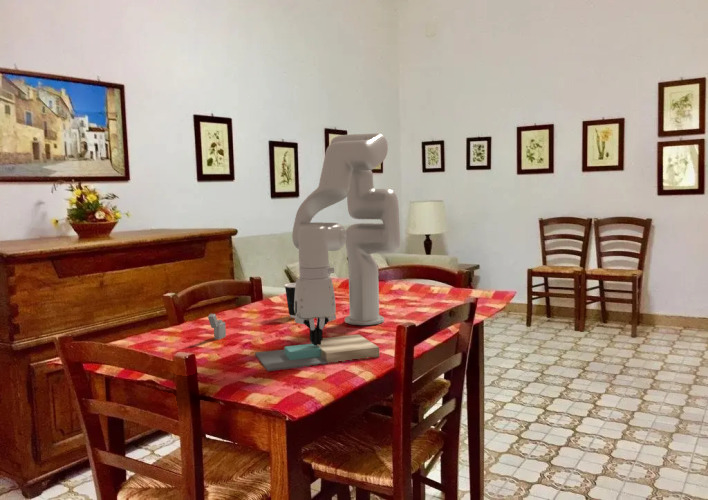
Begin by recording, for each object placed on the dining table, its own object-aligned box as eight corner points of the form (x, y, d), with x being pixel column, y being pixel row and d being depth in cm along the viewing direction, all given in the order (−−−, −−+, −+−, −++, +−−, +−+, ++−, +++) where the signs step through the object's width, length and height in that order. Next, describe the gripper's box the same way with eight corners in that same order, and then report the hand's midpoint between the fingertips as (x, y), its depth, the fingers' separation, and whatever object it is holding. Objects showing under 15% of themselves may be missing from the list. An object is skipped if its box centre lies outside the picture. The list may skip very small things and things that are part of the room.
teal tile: (284, 354, 159) (284, 346, 159) (314, 350, 162) (314, 343, 162) (290, 360, 154) (289, 352, 154) (320, 356, 156) (320, 348, 156)
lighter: (220, 335, 183) (219, 309, 182) (226, 336, 183) (224, 309, 182) (209, 341, 176) (207, 314, 175) (214, 342, 176) (213, 314, 175)
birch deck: (310, 348, 166) (310, 339, 166) (359, 343, 171) (359, 334, 170) (327, 363, 152) (326, 353, 152) (379, 356, 157) (379, 347, 156)
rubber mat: (255, 354, 162) (255, 352, 161) (310, 348, 167) (310, 346, 166) (267, 371, 147) (267, 369, 146) (327, 363, 152) (327, 361, 151)
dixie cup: (313, 315, 209) (312, 283, 208) (300, 320, 202) (299, 287, 201) (294, 313, 213) (292, 282, 212) (280, 318, 206) (279, 285, 205)
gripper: (337, 269, 163) (339, 337, 165) (282, 273, 158) (284, 343, 160) (346, 273, 156) (348, 344, 158) (289, 277, 151) (291, 350, 153)
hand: (316, 343), depth 159 cm, fingers closed
